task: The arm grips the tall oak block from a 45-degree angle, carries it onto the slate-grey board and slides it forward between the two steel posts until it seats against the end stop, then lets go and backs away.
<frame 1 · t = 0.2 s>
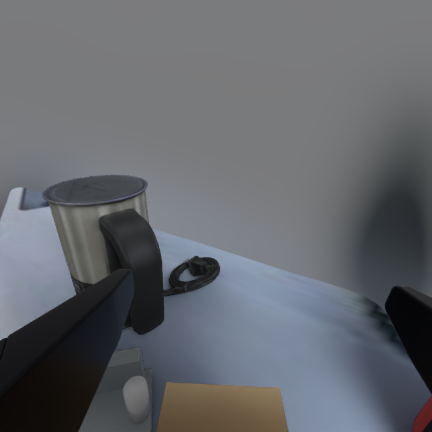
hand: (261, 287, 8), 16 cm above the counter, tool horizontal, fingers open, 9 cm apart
milk frother: (154, 292, 30), on the counter
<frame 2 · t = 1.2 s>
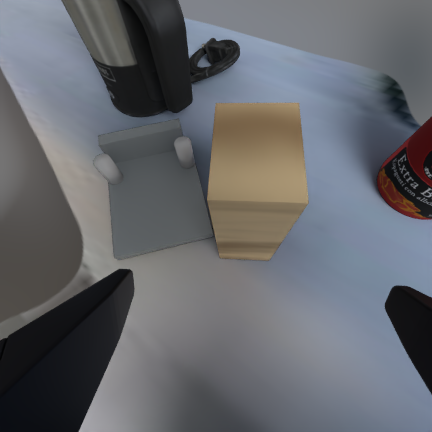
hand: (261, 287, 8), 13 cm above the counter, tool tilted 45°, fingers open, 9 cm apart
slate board: (159, 207, 24), on the counter
milk frother: (176, 83, 31), on the counter
oak block: (244, 228, 23), on the counter
canned food: (413, 188, 24), on the counter
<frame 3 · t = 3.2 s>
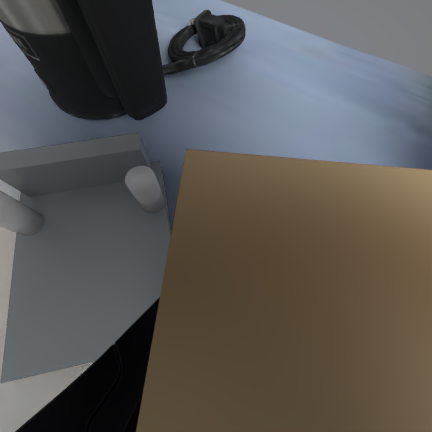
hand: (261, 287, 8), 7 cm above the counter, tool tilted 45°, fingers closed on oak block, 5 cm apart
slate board: (102, 277, 14), on the counter
milk frother: (150, 72, 22), on the counter
oak block: (239, 324, 14), on the counter, touching gripper
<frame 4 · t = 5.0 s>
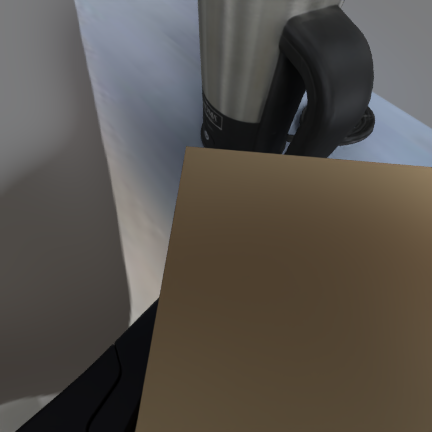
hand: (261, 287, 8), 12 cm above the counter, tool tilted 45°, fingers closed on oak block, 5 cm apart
milk frother: (278, 133, 26), on the counter
oak block: (239, 324, 14), point 5 cm above the counter, touching gripper
when the fingers open (8 cm above the counter, at t = 6.7 s): oak block stays where it is, resting on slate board.
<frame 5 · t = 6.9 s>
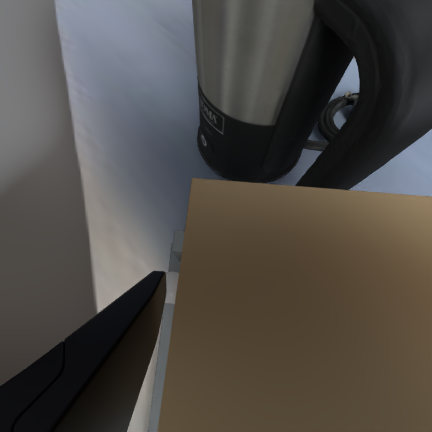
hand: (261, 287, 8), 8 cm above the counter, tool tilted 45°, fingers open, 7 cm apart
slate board: (234, 363, 14), on the counter
milk frother: (292, 138, 21), on the counter
oak block: (238, 324, 14), point 1 cm above the counter, touching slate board
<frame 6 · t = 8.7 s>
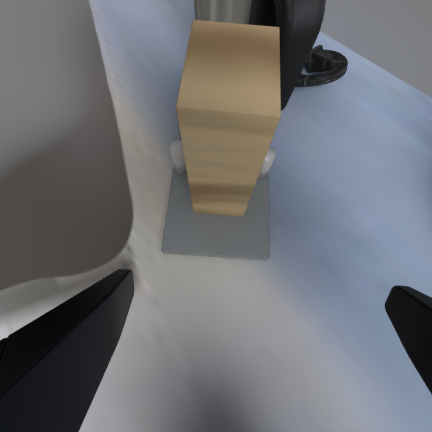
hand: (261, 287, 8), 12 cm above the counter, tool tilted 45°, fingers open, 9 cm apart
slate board: (218, 211, 22), on the counter
milk frother: (265, 82, 29), on the counter
oak block: (220, 185, 22), point 1 cm above the counter, touching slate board
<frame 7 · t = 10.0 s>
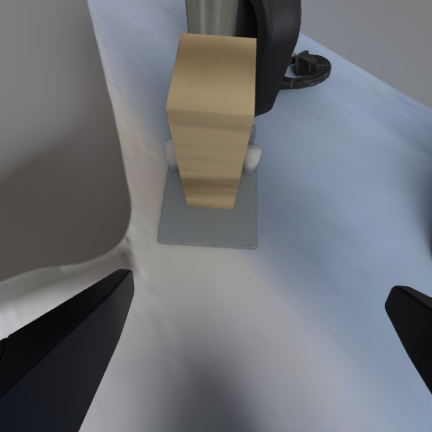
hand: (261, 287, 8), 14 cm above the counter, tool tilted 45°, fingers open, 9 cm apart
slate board: (210, 205, 24), on the counter
milk frother: (255, 85, 31), on the counter
oak block: (212, 181, 24), point 1 cm above the counter, touching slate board
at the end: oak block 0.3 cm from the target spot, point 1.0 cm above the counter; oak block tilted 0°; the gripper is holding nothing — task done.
